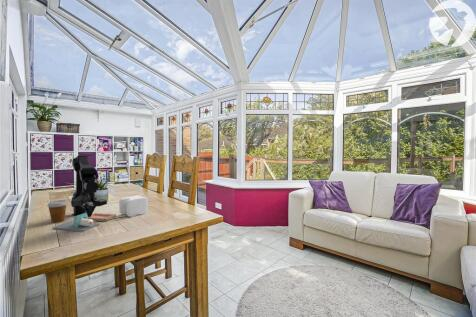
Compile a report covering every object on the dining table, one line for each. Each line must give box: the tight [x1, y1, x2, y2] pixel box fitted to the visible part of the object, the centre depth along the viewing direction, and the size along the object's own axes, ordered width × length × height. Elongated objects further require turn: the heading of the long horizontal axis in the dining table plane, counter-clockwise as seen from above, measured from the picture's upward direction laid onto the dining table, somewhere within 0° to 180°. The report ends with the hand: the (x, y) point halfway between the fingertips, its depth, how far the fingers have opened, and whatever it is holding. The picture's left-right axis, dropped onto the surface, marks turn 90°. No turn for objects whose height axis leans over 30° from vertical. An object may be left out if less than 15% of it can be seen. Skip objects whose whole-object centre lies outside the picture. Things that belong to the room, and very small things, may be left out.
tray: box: [88, 212, 117, 223], centre depth 148 cm, size 16×9×2 cm, turn 78°
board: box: [52, 220, 100, 233], centre depth 132 cm, size 20×11×1 cm, turn 78°
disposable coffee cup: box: [47, 200, 68, 224], centre depth 142 cm, size 10×10×12 cm
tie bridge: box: [73, 213, 88, 228], centre depth 132 cm, size 2×7×6 cm, turn 168°
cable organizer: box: [118, 194, 149, 218], centre depth 157 cm, size 15×11×12 cm
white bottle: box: [71, 218, 94, 226], centre depth 132 cm, size 11×4×4 cm, turn 78°
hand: (89, 216), depth 130 cm, fingers closed
